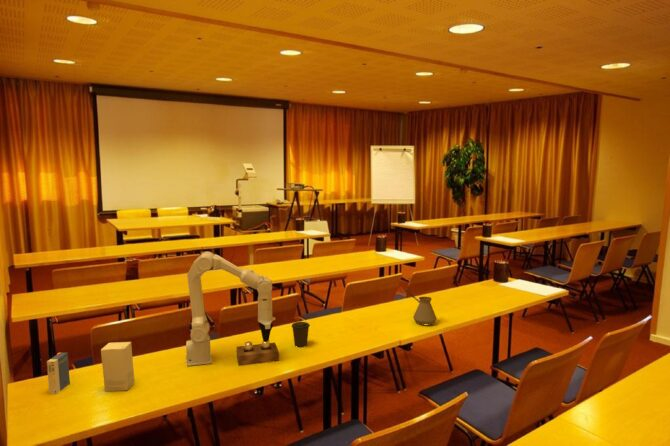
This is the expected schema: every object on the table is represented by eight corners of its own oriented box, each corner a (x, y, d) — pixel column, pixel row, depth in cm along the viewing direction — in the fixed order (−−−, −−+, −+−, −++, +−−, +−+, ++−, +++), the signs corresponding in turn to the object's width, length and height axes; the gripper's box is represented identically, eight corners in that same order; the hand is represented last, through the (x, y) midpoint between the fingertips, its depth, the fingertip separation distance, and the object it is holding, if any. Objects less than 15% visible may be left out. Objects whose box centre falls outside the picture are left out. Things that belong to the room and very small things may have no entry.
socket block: (238, 365, 178) (238, 356, 178) (236, 355, 188) (236, 346, 187) (279, 360, 183) (278, 351, 182) (275, 351, 192) (274, 342, 192)
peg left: (245, 354, 182) (245, 344, 182) (244, 351, 185) (244, 341, 185) (252, 353, 183) (252, 343, 182) (252, 350, 186) (251, 341, 185)
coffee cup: (307, 349, 195) (307, 326, 194) (289, 347, 196) (288, 325, 195) (312, 342, 203) (311, 320, 201) (294, 340, 204) (294, 319, 203)
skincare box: (135, 382, 164) (132, 341, 162) (127, 391, 158) (125, 348, 156) (111, 383, 164) (109, 341, 162) (102, 392, 157) (100, 348, 156)
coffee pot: (441, 323, 227) (442, 294, 225) (425, 328, 220) (426, 298, 218) (410, 313, 244) (410, 286, 242) (394, 317, 237) (395, 289, 235)
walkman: (62, 383, 164) (60, 351, 162) (70, 383, 164) (67, 351, 162) (48, 394, 156) (45, 360, 155) (56, 394, 156) (54, 360, 155)
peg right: (262, 352, 184) (262, 342, 184) (261, 349, 187) (261, 340, 186) (270, 351, 185) (269, 341, 184) (269, 348, 188) (268, 339, 187)
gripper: (277, 312, 178) (278, 345, 180) (272, 302, 192) (272, 333, 193) (259, 314, 176) (260, 347, 178) (255, 303, 190) (256, 335, 191)
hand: (265, 340), depth 185 cm, fingers closed
